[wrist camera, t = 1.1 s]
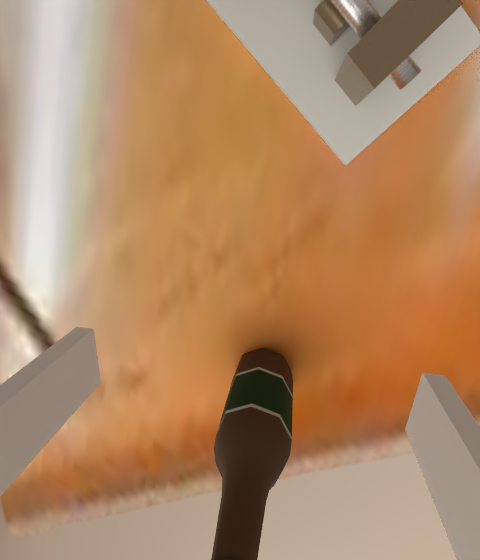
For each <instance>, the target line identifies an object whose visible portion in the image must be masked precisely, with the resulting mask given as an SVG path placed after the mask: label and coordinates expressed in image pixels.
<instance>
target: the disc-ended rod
mask: <svg viewBox="0 0 480 560" xmlns="http://www.w3.org/2000/svg"><path fill="white" fill-rule="evenodd" d="M330 1H331V2H332V3H333V4H334V6H335V7H336V8H337V10H338V11H339V12H340V14H341V15H342V16H343V17H344V19H345V20H346V21H347V23H348V24H349V25H350V26H351V28H352V29H353V30H354V32H355V33H356V34H357V36H358V37H359V38H360V39H362V38H363V36H364V35H365V34H366V33H367V32H368V31H369V30H370V29H371V28H372V27H373V26H374V25H375V24H376V23H377V22H378V21H379V20H380V19H381V18H382V17H381V15H380V14H379V13H378V11H377V10H376V9H375V7H374V6H373V5H372V3H371V2H370V1H369V0H330ZM421 71H422V70H421V69H420V67H419V66H418V65H417V63H416V62H415V61H414V59H413V58H412V57H411V55H409V56H408V57H407V58H406V59H405V60H404V61H403V62H402V63H401V64H400V65H399V66H398V67H397V68H396V69H395V70H394V71H393V72H392V73H391V74H389V75H388V76H389V77H390V78H391V80H392V81H393V82H394V83H395V85H396V86H397V87H398V89H399V90H401V89H402V88H404V87H405V86H406V85H407V84H408V83H409V82H410V81H411V80H413V79H414V78H415V77H416V76H417V75H418V74H419V73H420V72H421Z"/></svg>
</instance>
